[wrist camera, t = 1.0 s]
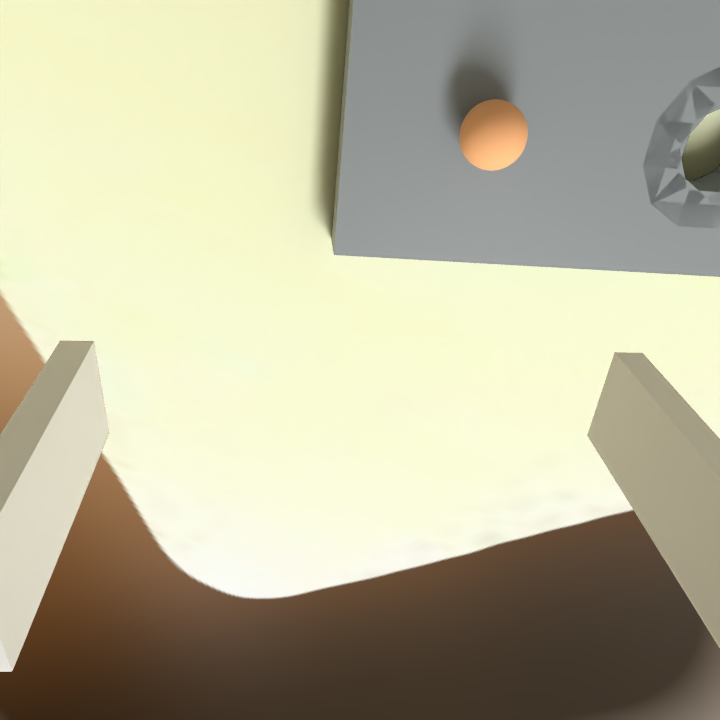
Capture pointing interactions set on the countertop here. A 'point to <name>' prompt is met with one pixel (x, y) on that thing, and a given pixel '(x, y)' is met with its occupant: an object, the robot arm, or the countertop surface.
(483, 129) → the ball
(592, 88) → the plate
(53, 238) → the countertop surface
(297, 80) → the countertop surface
